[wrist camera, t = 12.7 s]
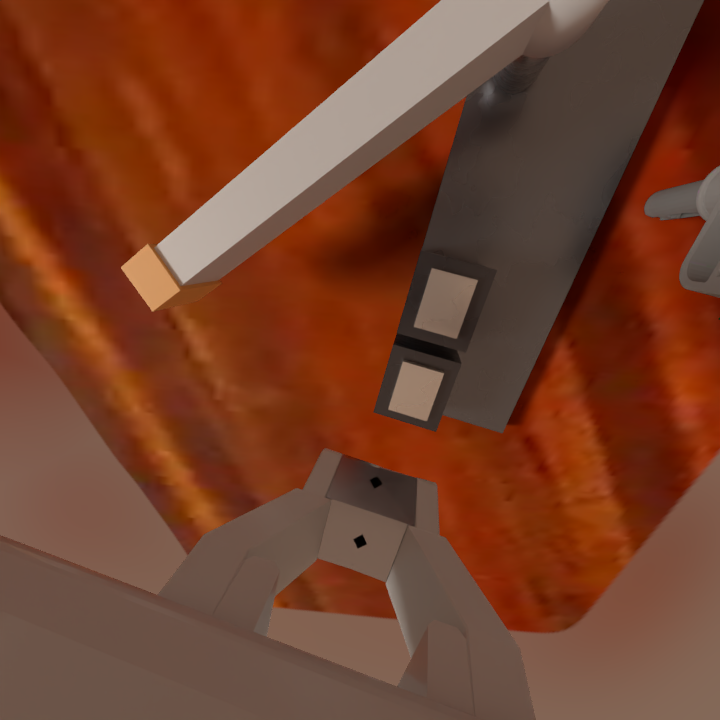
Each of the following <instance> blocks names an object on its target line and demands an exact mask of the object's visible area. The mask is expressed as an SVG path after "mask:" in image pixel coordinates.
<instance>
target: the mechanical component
mask: <svg viewBox="0 0 720 720" xmlns="http://www.w3.org/2000/svg"><path fill="white" fill-rule="evenodd" d="M644 211H645V214H646V215H648V216H650V217H660V220H669V219H677V218H685V217H693V216H701V217H702V218H703V219H704V220H705V221H706V223H705V225H704V226H703V228H702V230H701V232H700V233H699V235H698V237H697V239H696V240H695V242H694V244H693V246H692V247H691V249H690V251H689V253H688V254H687V256H686V258H685V260H684V262H683V264H682V266H681V269H680V274H679V280H680V283H681V285H682V286H683V287H684V288H685V289H688V290H691V291H695V292H699V293H703V294H707V295H711V296H715V297H719V298H720V166H718V167H717V168H716V169H714V170H713V171H712V172H711V173H710V174H709V175H708V176H707V177H706V178H705V180H702V181H698V182H693V183H689V184H685V185H681V186H677V187H673V188H669V189H665V190H661V191H658V192H656V193H654V194H653V195H651V196H650V198H649V199H648V200H647V202H646V204H645V208H644ZM719 320H720V318H719Z"/></svg>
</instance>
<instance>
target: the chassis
mask: <svg viewBox="0 0 720 720" xmlns="http://www.w3.org/2000/svg"><path fill="white" fill-rule="evenodd" d="M703 1H704V0H609V1H608V2H607V4H606V5H605V6H604V8H603V9H602V10H601V12H600V13H599V15H598V16H597V17H596V19H595V20H594V21H593V23H592V24H591V25H590V27H589V28H588V29H587V31H586V32H585V33H584V34H583V35H582V36H581V37H580V38H579V39H578V40H577V41H576V42H575V43H574V44H573V45H571V46H570V47H569V48H567V49H566V50H564V51H562V52H560V53H558V54H555V55H552V56H549V57H544V58H533V57H528V56H525V55H523V54H522V55H521V56H520V57H518V58H517V59H515V60H514V61H513V62H511V63H510V64H509V65H507V66H506V67H505V68H503V69H502V70H501V71H499V72H498V73H497V74H495V75H494V76H493V77H491V78H490V79H489V80H487V81H486V82H485V83H483V84H482V85H480V86H479V87H478V88H476V89H475V90H474V91H472V92H471V93H470V94H468V95H467V97H466V101H465V104H464V108H463V111H462V114H461V118H460V121H459V125H458V128H457V131H456V135H455V138H454V142H453V145H452V148H451V152H450V155H449V159H448V162H447V166H446V169H445V172H444V176H443V179H442V183H441V186H440V189H439V193H438V196H437V200H436V203H435V206H434V210H433V213H432V217H431V220H430V223H429V227H428V230H427V234H426V237H425V240H424V244H423V247H422V250H423V251H427V252H431V253H435V254H439V255H442V256H446V257H450V258H454V259H458V260H462V261H465V262H469V263H473V264H477V265H481V266H485V267H488V268H492V269H495V270H497V272H496V275H495V278H494V280H493V283H492V285H491V288H490V291H489V293H488V296H487V299H486V301H485V304H484V307H483V309H482V312H481V314H480V317H479V320H478V322H477V325H476V328H475V330H474V333H473V336H472V338H471V341H470V343H469V346H468V349H467V351H466V353H465V352H461V351H458V350H457V351H458V354H459V357H460V360H461V367H460V370H459V372H458V375H457V378H456V380H455V383H454V386H453V388H452V391H451V393H450V396H449V399H448V401H447V404H446V407H445V409H444V412H443V414H442V415H445V416H448V417H451V418H454V419H458V420H461V421H464V422H468V423H471V424H474V425H477V426H481V427H484V428H487V429H490V430H494V431H497V432H500V433H503V431H504V429H505V427H506V424H507V422H508V420H509V418H510V416H511V414H512V411H513V409H514V407H515V405H516V403H517V401H518V399H519V396H520V394H521V392H522V390H523V388H524V386H525V384H526V381H527V379H528V377H529V375H530V373H531V371H532V369H533V366H534V364H535V362H536V360H537V358H538V356H539V353H540V351H541V349H542V347H543V345H544V343H545V341H546V338H547V336H548V334H549V332H550V330H551V328H552V326H553V323H554V321H555V319H556V317H557V315H558V313H559V310H560V308H561V306H562V304H563V302H564V300H565V298H566V295H567V293H568V291H569V289H570V287H571V285H572V283H573V280H574V278H575V276H576V274H577V272H578V270H579V267H580V265H581V263H582V261H583V259H584V257H585V255H586V252H587V250H588V248H589V246H590V244H591V242H592V240H593V237H594V235H595V233H596V231H597V229H598V227H599V224H600V222H601V220H602V218H603V216H604V214H605V212H606V209H607V207H608V205H609V203H610V201H611V199H612V197H613V194H614V192H615V190H616V188H617V186H618V184H619V182H620V179H621V177H622V175H623V173H624V171H625V169H626V166H627V164H628V162H629V160H630V158H631V156H632V154H633V151H634V149H635V147H636V145H637V143H638V141H639V139H640V136H641V134H642V132H643V130H644V128H645V126H646V123H647V121H648V119H649V117H650V115H651V113H652V111H653V108H654V106H655V104H656V102H657V100H658V98H659V96H660V93H661V91H662V89H663V87H664V85H665V83H666V80H667V78H668V76H669V74H670V72H671V70H672V68H673V65H674V63H675V61H676V59H677V57H678V55H679V53H680V50H681V48H682V46H683V44H684V42H685V40H686V38H687V35H688V33H689V31H690V29H691V27H692V25H693V22H694V20H695V18H696V16H697V14H698V12H699V10H700V7H701V5H702V3H703Z"/></svg>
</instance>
